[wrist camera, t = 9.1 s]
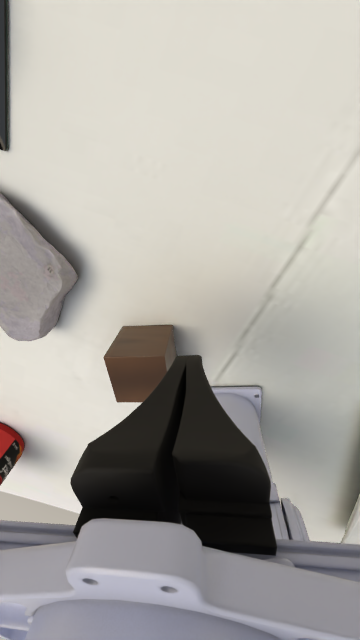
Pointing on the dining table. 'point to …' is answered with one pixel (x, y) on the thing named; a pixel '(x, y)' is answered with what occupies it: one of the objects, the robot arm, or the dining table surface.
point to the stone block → (29, 278)
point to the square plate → (353, 526)
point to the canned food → (9, 450)
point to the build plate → (4, 75)
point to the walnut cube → (139, 360)
